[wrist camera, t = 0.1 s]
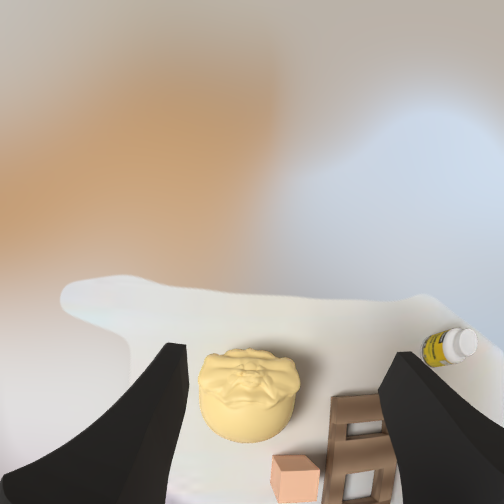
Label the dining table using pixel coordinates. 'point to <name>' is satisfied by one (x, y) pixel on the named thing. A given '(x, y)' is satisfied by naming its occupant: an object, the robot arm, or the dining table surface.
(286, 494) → the square peg
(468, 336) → the supplement bottle
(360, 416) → the socket board
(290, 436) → the dining table surface
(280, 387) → the sculpture
